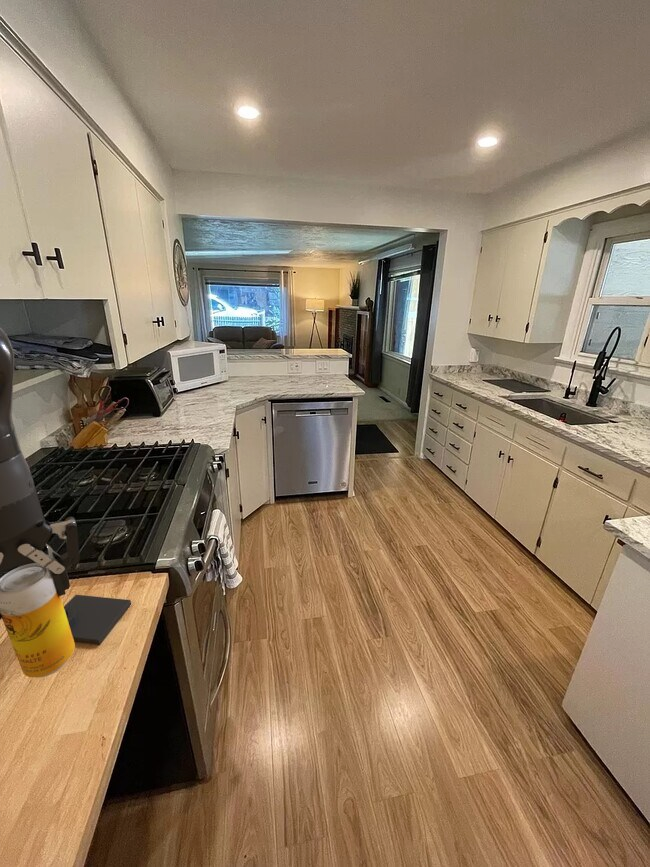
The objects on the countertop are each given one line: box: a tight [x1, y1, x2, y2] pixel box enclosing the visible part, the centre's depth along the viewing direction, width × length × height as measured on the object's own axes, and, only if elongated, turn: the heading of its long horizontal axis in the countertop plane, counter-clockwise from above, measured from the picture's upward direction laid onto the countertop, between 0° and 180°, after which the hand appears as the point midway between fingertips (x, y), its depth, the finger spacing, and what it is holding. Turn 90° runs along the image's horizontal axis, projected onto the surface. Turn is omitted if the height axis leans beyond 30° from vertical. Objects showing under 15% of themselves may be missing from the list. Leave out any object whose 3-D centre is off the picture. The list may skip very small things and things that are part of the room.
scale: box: [63, 594, 132, 646], centre depth 74 cm, size 13×10×3 cm
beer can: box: [0, 562, 76, 679], centre depth 48 cm, size 6×6×15 cm
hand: (31, 603), depth 47 cm, fingers closed on beer can, 6 cm apart
